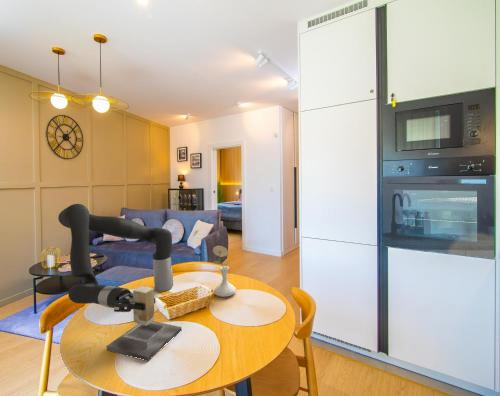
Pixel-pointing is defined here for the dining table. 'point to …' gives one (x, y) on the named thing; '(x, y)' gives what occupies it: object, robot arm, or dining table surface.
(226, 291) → the flower in vase
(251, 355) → the dining table surface
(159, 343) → the holder board
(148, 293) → the skincare box
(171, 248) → the robot arm
